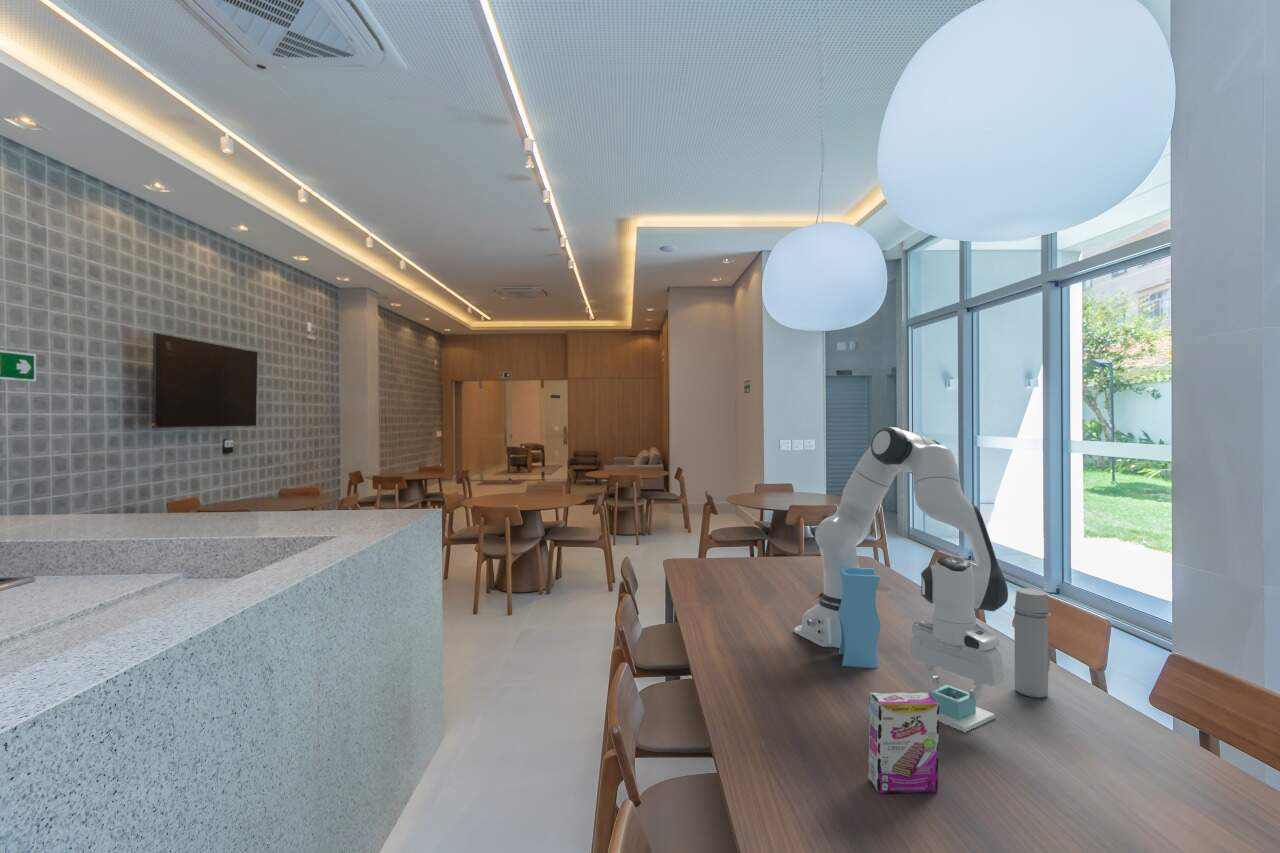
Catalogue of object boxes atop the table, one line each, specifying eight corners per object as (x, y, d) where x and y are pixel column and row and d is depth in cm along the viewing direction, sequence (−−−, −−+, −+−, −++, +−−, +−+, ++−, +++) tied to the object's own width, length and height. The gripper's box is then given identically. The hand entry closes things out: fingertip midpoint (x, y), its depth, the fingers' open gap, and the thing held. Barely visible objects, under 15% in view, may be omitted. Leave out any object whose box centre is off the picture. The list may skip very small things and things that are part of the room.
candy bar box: (878, 795, 110) (878, 703, 110) (867, 779, 115) (867, 691, 115) (940, 794, 111) (940, 702, 111) (926, 778, 116) (926, 690, 116)
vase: (880, 668, 168) (880, 576, 168) (842, 665, 170) (842, 574, 170) (874, 655, 178) (874, 568, 178) (838, 653, 180) (838, 566, 180)
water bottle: (1033, 701, 148) (1033, 596, 148) (1005, 688, 156) (1005, 588, 155) (1063, 697, 150) (1063, 594, 150) (1034, 684, 158) (1034, 586, 158)
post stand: (914, 711, 143) (914, 688, 143) (944, 698, 150) (944, 677, 150) (965, 732, 133) (965, 708, 133) (994, 718, 139) (994, 695, 139)
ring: (929, 708, 142) (929, 691, 142) (947, 701, 146) (947, 684, 146) (958, 720, 136) (958, 702, 136) (975, 712, 140) (975, 695, 140)
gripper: (904, 620, 148) (904, 678, 148) (991, 646, 131) (991, 711, 131) (920, 616, 152) (920, 672, 152) (1006, 640, 134) (1006, 704, 134)
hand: (953, 690), depth 141 cm, fingers open, 8 cm apart
